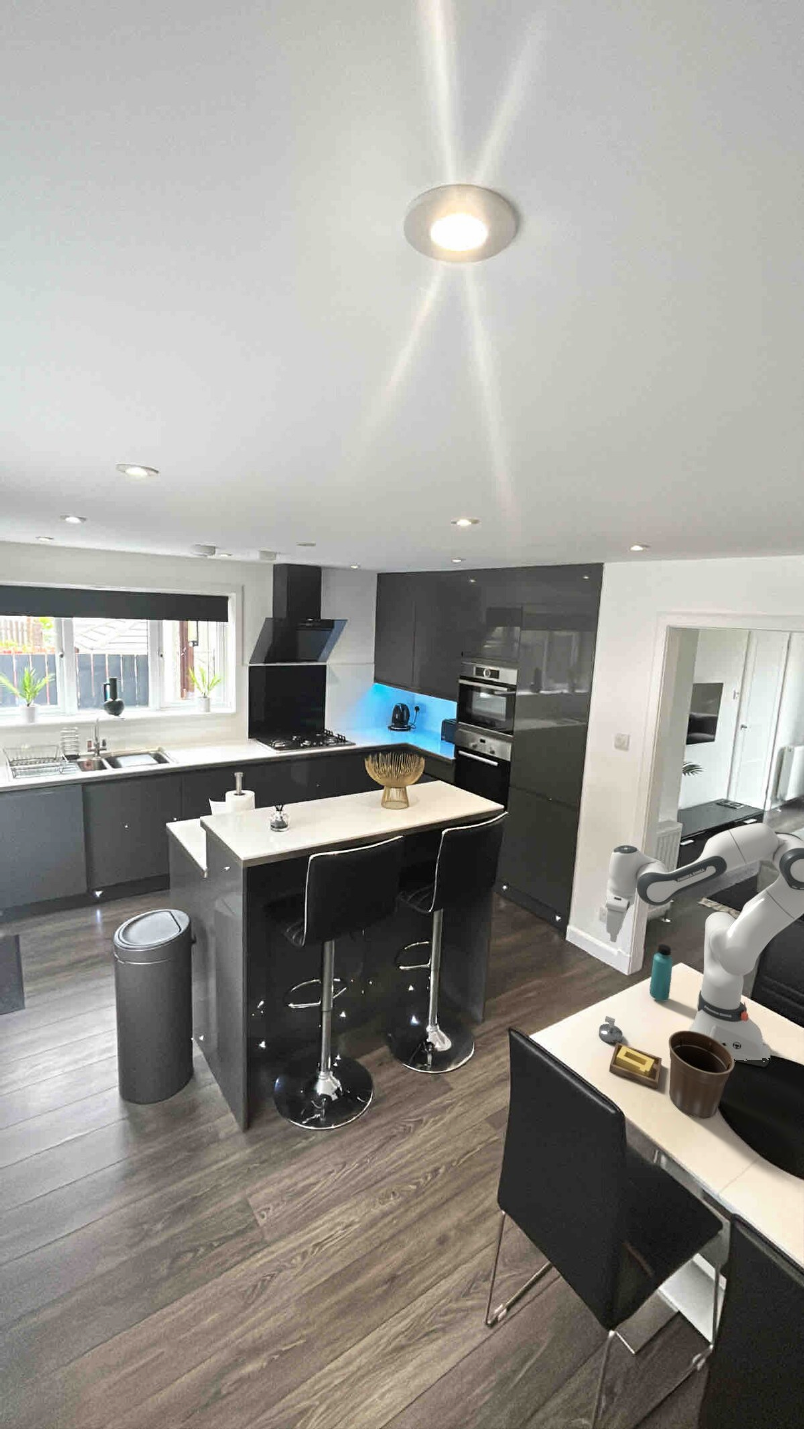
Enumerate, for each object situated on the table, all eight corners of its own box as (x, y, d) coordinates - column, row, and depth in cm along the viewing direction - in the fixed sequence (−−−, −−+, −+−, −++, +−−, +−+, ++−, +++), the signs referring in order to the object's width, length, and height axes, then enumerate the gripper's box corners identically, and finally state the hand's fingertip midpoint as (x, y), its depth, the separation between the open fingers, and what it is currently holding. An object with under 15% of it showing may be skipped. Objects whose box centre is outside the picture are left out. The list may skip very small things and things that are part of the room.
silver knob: (623, 1034, 197) (625, 1017, 196) (619, 1047, 191) (621, 1030, 190) (601, 1026, 201) (602, 1009, 199) (596, 1039, 195) (598, 1021, 193)
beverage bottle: (670, 1006, 212) (677, 953, 209) (649, 1003, 213) (656, 950, 210) (666, 994, 218) (673, 943, 215) (646, 991, 220) (653, 940, 216)
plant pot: (736, 1107, 170) (745, 1055, 167) (709, 1137, 160) (717, 1083, 157) (679, 1071, 183) (686, 1022, 180) (650, 1097, 173) (657, 1046, 170)
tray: (661, 1064, 185) (661, 1058, 184) (656, 1089, 175) (657, 1082, 175) (615, 1048, 191) (616, 1042, 190) (609, 1071, 181) (609, 1064, 181)
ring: (622, 1053, 188) (622, 1045, 188) (653, 1067, 183) (654, 1060, 182) (614, 1066, 183) (615, 1058, 182) (646, 1081, 178) (647, 1073, 177)
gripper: (616, 880, 209) (611, 917, 212) (604, 905, 192) (599, 945, 194) (635, 885, 206) (631, 923, 209) (625, 910, 189) (620, 951, 191)
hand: (616, 934), depth 201 cm, fingers open, 8 cm apart
